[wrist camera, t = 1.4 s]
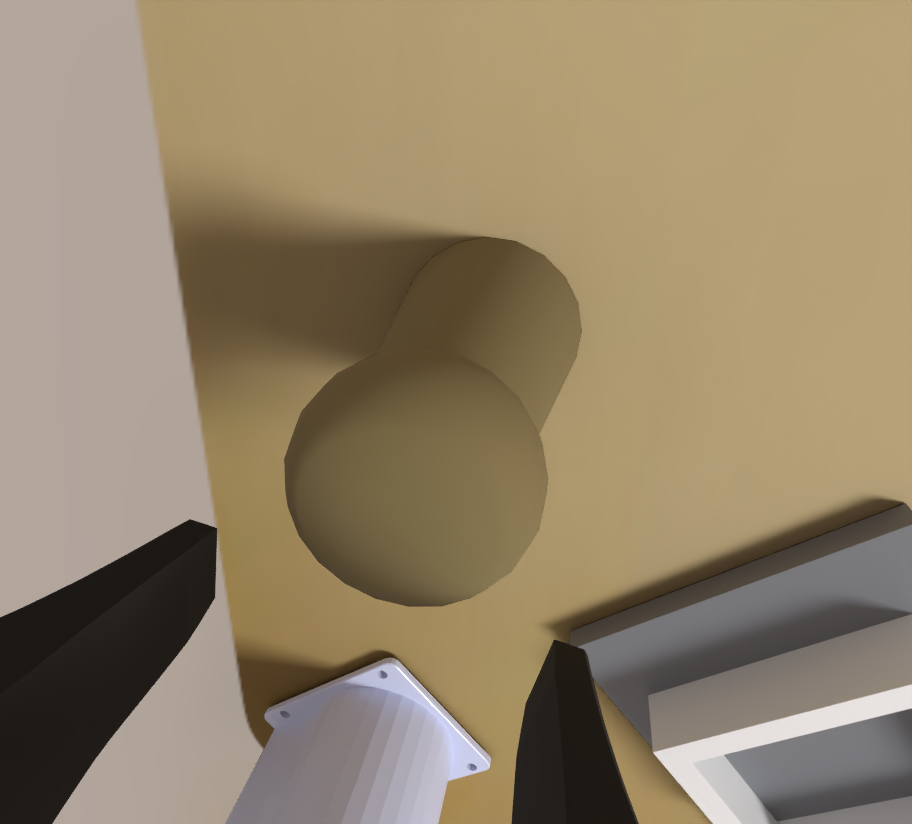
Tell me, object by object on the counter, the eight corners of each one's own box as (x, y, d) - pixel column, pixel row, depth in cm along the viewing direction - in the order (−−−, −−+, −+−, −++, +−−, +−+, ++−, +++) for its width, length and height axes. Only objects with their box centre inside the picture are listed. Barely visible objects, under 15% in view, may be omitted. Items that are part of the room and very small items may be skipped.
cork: (610, 271, 19) (621, 448, 9) (546, 432, 21) (503, 696, 12) (425, 212, 19) (245, 322, 9) (386, 378, 22) (221, 592, 12)
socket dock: (764, 864, 29) (784, 952, 26) (570, 631, 25) (566, 702, 22) (1087, 812, 24) (1159, 916, 21) (905, 503, 20) (961, 575, 17)
